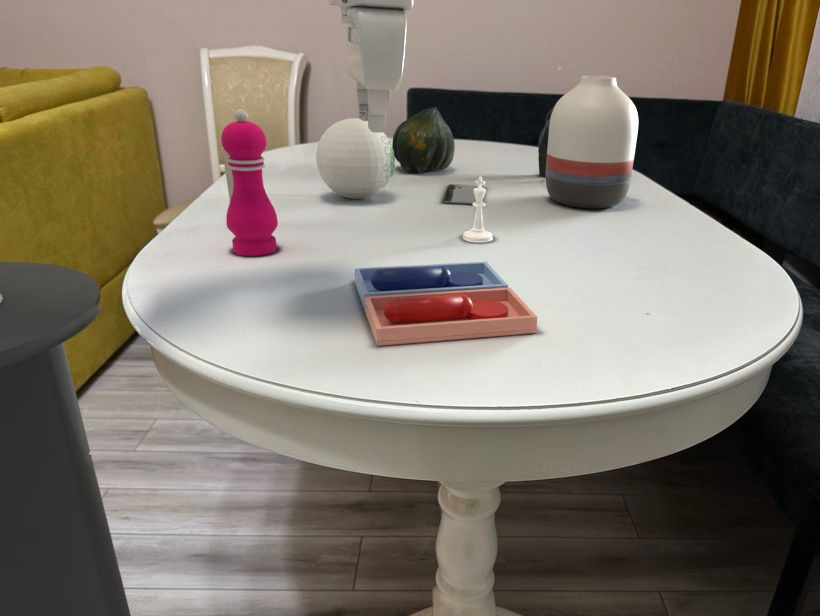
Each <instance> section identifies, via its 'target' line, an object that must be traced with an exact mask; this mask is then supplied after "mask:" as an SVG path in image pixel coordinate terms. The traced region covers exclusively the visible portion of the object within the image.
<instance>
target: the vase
mask: <svg viewBox="0 0 820 616" xmlns="http://www.w3.org/2000/svg"><path fill="white" fill-rule="evenodd" d="M554 106H555V107H554ZM554 106H553V107H554V109H553V111H552V112H551V114H550V117H551V119H550V118H549V119H550V126H549V137H548V149H547V162H546V177H545V187H546V191H547V193H548V195H549V198H551V199H552V200H553V201H555V202H557V203H559V204H560V205H563V206H567V207H573V208H578V209H594V210H595V209H607V208H612V207H614V206H616V205H619V204H621V202H622V201H624V199H625V198H626V196H627V194H628V191H629V189H630V186H631V182H632V181H631V180H632V173H633V167H634V161H635V155H636V154H635V153H636V147H637V138H638V131H639V115H638V111H637V107H636V105H635V104H634V102H633V100H632V99H631V98H630V97H628V95H627V94H626V93H624V92H623V91H622V89H621V88H620V87H619V86H618V83H617V78H616V77H615V76H605V75H582V76H581V78H580V81H579V83H578V84H577V85H576V86H575V87H573V88H572V89H571V90H569V91H568V92H566V93H565V94H564V95H563V96H561V97H560V98H559V99H558V100H557V102H556V103H555V105H554Z"/></svg>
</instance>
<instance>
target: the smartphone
mask: <svg viewBox="0 0 820 616" xmlns="http://www.w3.org/2000/svg"><path fill="white" fill-rule="evenodd" d="M477 187H478V184H476V185H475V184H473V185H472V184H456V183H455V184H451V183H450V184H448V186H447V188H446V192H445V194H444V197H443V199H442V203H443V204H462V205H463V204H465V205H472V204H473V203H474V202H476V198H475V194H474V191H473V189H474V188H477ZM482 188H485V185H482Z"/></svg>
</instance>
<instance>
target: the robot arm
mask: <svg viewBox="0 0 820 616" xmlns="http://www.w3.org/2000/svg"><path fill="white" fill-rule="evenodd" d="M328 5H329V6H333V7H340V15H341V16H340V22H341V24H346V71H347V75H348V76H349V77H351V78H352V79H353V80H354V81H355V91H356V92H355V93H356V99H357V105H358V106H357V111H358V113H357V114H358V119H361V120H362V121H368V128H369V130H370V131H371V132H374V133H383V132H384V133H385V132H386V131H387V114H388V107H389V101H390V91H398V90H399V89H400V87H401V83H402V79H403V73H404V65H405V54H406V43H407V41H406V40H407V27H408V13H407V11H411V10H412V9H413V6H414V0H328ZM2 300H3V297H2V295H1V294H0V303H1V302H2Z"/></svg>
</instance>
